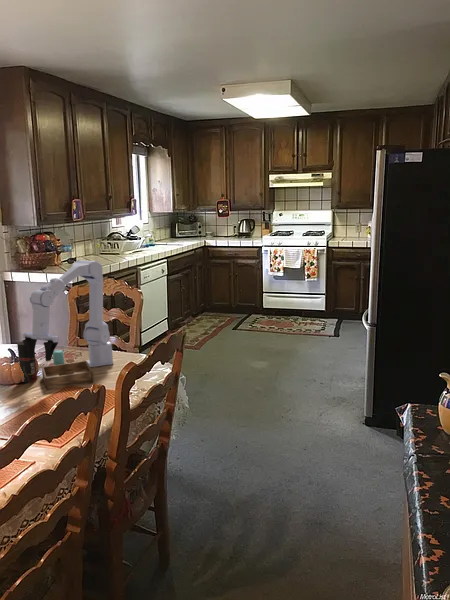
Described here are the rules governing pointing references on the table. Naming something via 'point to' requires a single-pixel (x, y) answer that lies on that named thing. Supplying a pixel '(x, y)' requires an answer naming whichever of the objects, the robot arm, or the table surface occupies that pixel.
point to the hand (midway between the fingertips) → (39, 359)
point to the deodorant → (27, 364)
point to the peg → (58, 357)
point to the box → (67, 375)
